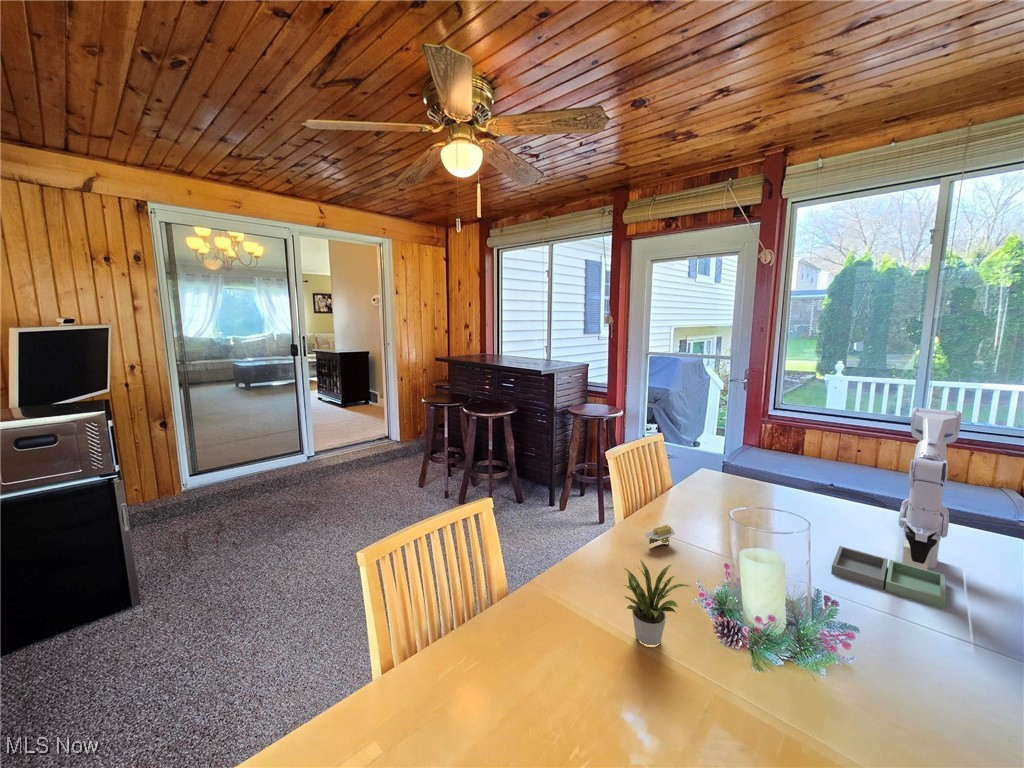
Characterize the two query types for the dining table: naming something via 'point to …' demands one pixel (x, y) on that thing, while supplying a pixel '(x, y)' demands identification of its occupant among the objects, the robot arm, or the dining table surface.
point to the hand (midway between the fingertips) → (918, 557)
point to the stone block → (908, 559)
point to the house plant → (650, 606)
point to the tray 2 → (916, 583)
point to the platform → (660, 534)
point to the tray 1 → (860, 567)
